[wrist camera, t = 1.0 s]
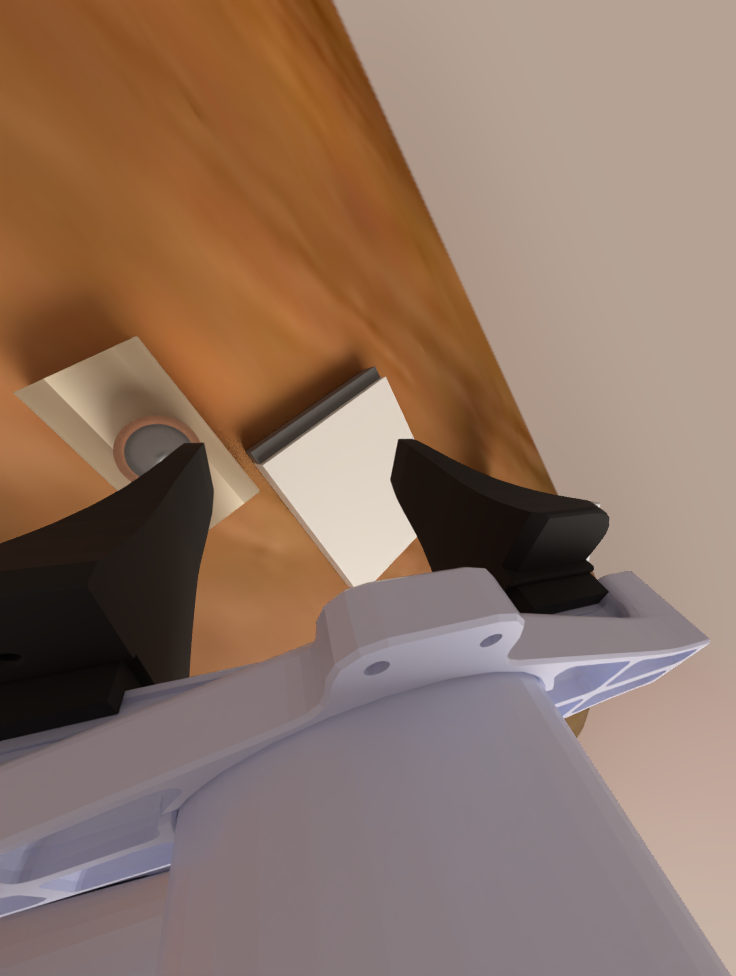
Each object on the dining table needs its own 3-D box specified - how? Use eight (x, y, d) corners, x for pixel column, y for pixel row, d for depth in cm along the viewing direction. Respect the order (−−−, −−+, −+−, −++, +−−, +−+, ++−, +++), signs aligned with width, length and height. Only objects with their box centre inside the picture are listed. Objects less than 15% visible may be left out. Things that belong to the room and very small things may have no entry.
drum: (154, 498, 17) (154, 506, 15) (98, 442, 15) (90, 443, 13) (213, 459, 18) (219, 462, 16) (167, 403, 16) (168, 400, 15)
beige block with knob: (177, 534, 21) (181, 550, 18) (38, 399, 16) (12, 392, 13) (247, 483, 23) (260, 491, 20) (140, 350, 18) (136, 335, 15)
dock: (346, 584, 29) (360, 595, 27) (244, 451, 22) (253, 453, 20) (427, 501, 33) (445, 506, 31) (362, 369, 27) (380, 364, 24)
